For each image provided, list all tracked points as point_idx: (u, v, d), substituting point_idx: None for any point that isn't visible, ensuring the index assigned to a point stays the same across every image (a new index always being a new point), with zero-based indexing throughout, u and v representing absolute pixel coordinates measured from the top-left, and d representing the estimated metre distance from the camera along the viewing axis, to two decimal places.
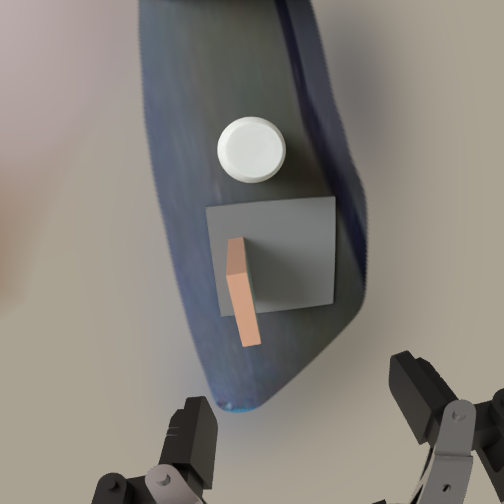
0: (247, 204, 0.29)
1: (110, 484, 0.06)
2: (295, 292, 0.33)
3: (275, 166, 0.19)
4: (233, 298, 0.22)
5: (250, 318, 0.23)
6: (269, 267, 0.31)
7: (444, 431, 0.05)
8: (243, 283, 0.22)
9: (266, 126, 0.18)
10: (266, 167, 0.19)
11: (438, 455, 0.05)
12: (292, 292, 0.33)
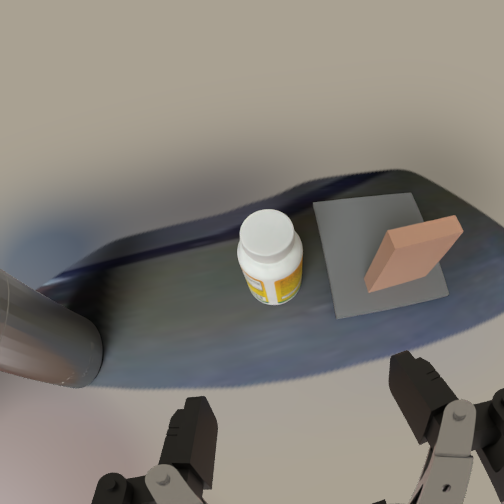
0: (330, 276, 0.28)
1: (110, 484, 0.06)
2: None
3: (281, 213, 0.21)
4: (416, 241, 0.18)
5: (432, 225, 0.19)
6: None
7: (444, 431, 0.05)
8: (399, 232, 0.19)
9: (244, 223, 0.21)
10: (282, 220, 0.21)
11: (438, 455, 0.05)
12: None
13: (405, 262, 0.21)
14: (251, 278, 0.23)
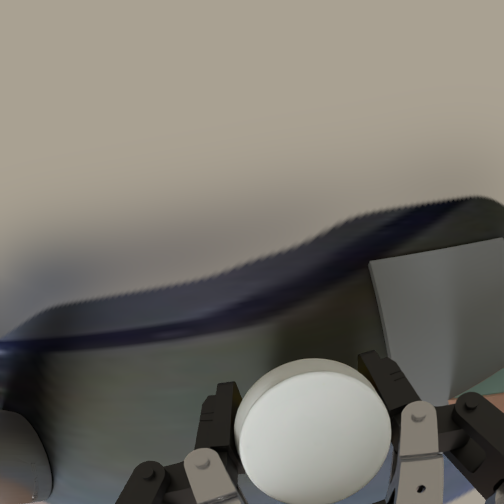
0: None
1: (147, 473, 0.06)
2: None
3: (361, 386, 0.06)
4: None
5: None
6: (485, 345, 0.13)
7: (400, 431, 0.06)
8: None
9: (251, 416, 0.06)
10: (363, 408, 0.06)
11: (404, 459, 0.05)
12: None
13: None
14: None
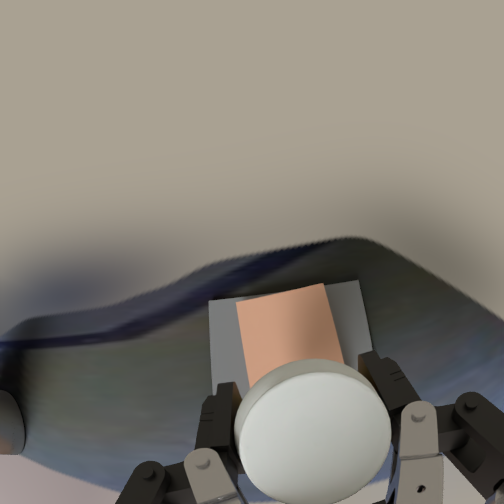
0: None
1: (147, 473, 0.06)
2: (343, 337, 0.21)
3: (361, 387, 0.06)
4: None
5: None
6: None
7: (400, 431, 0.06)
8: None
9: (251, 416, 0.06)
10: (363, 408, 0.06)
11: (404, 459, 0.05)
12: (343, 341, 0.21)
13: (270, 336, 0.20)
14: None
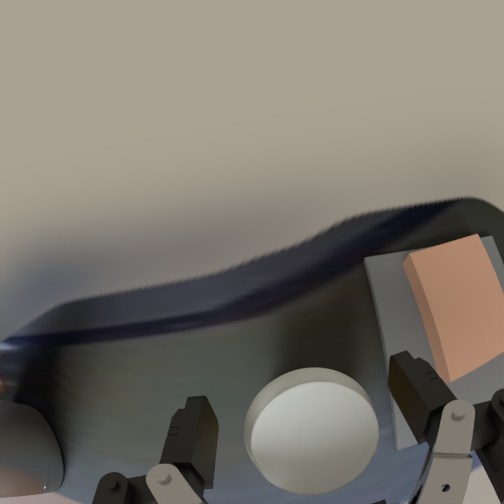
0: None
1: (111, 483, 0.06)
2: None
3: (353, 394, 0.07)
4: None
5: None
6: None
7: (443, 431, 0.05)
8: None
9: (260, 418, 0.07)
10: (355, 412, 0.07)
11: (437, 455, 0.05)
12: None
13: (451, 288, 0.15)
14: None
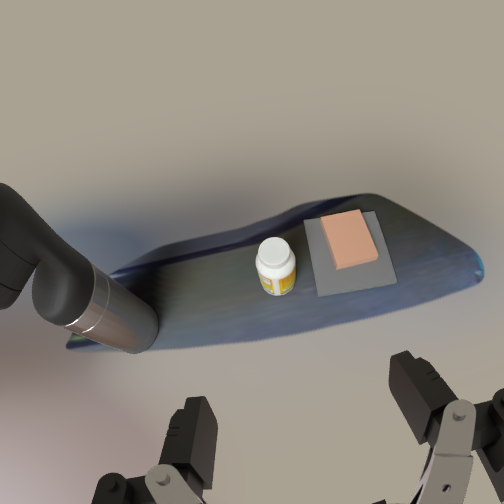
0: (314, 269, 0.43)
1: (109, 484, 0.06)
2: None
3: (282, 240, 0.36)
4: (332, 215, 0.46)
5: None
6: None
7: (444, 431, 0.05)
8: None
9: (260, 245, 0.36)
10: (283, 244, 0.36)
11: (438, 455, 0.05)
12: None
13: (339, 230, 0.44)
14: (264, 278, 0.38)
